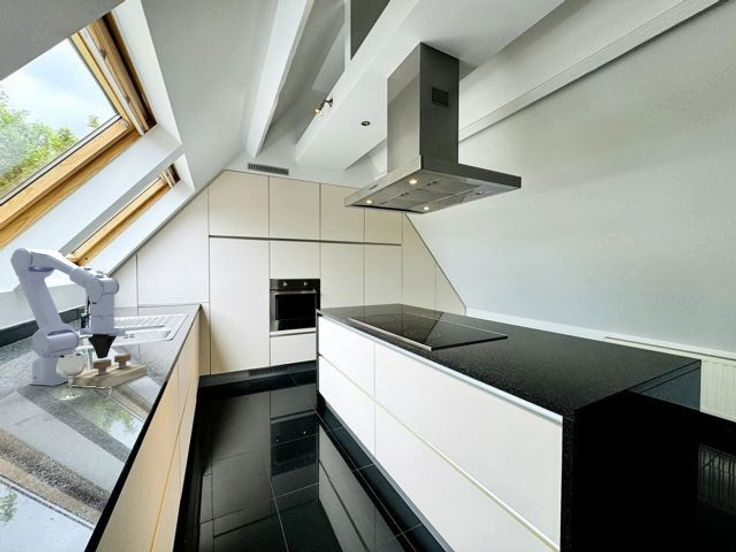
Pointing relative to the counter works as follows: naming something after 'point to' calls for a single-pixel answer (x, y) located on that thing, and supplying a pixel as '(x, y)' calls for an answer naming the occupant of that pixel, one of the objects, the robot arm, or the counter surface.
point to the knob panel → (110, 376)
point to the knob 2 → (122, 359)
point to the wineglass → (70, 368)
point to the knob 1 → (102, 366)
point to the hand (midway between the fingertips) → (102, 357)
